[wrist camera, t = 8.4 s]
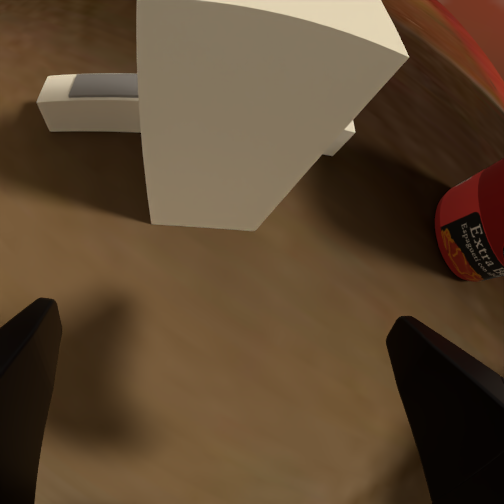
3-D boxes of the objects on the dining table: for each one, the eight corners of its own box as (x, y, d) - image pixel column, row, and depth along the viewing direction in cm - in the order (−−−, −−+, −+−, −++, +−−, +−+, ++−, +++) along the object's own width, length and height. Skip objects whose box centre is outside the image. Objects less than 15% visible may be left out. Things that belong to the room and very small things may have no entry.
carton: (254, 231, 18) (412, 53, 5) (151, 224, 16) (137, -9, 4) (254, 156, 19) (363, -36, 6) (160, 147, 17) (180, -77, 5)
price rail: (332, 156, 20) (356, 130, 17) (49, 131, 16) (35, 100, 13) (329, 131, 21) (351, 104, 18) (58, 106, 16) (47, 73, 13)
